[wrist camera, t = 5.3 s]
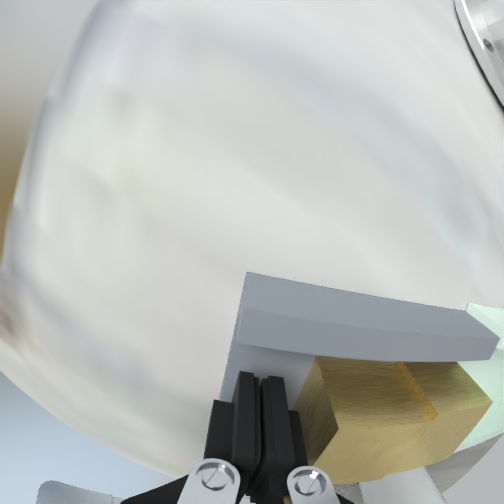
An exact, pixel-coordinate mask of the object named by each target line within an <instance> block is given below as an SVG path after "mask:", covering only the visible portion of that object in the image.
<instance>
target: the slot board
mask: <svg viewBox="0 0 504 504" xmlns="http://www.w3.org/2000/svg"><path fill="white" fill-rule="evenodd" d="M499 340H500V337H499V336H497V335H496V334H495V333H494V332H492V331H491V330H490V329H489V328H487V327H486V326H485V325H483V324H482V323H481V322H479V321H478V320H477V319H475V318H474V317H473V316H471V315H470V314H469V313H467V312H466V311H461V310H455V309H448V308H442V307H436V306H430V305H423V304H417V303H411V302H405V301H400V300H394V299H388V298H382V297H376V296H371V295H365V294H360V293H354V292H349V291H343V290H338V289H332V288H327V287H322V286H316V285H311V284H306V283H301V282H295V281H290V280H285V279H280V278H275V277H270V276H265V275H260V274H255V273H250V272H247V273H246V278H245V283H244V287H243V292H242V296H241V301H240V306H239V310H238V315H237V319H236V324H235V329H234V333H233V338H232V342H231V347H230V352H229V356H228V361H227V365H226V370H225V375H224V379H223V384H222V389H221V393H220V398H219V401H225V402H231V401H232V397H233V393H234V389H235V386H236V382H237V378H238V374H239V371H245V372H251V373H254V377H259V387H260V384H261V381H262V379H263V378H266V379H267V378H268V376H269V375H270V376H278V377H283V378H284V383H285V390H286V397H287V404H288V410H292V409H293V407H294V405H295V402H296V400H297V398H298V396H299V394H300V391H301V389H302V387H303V384H304V382H305V380H306V378H307V375H308V373H309V370H310V368H311V366H312V363H313V361H314V358H315V356H324V357H333V358H343V359H354V360H366V361H381V362H396V361H407V362H458V361H480V360H490V358H491V356H492V354H493V352H494V350H495V348H496V346H497V344H498V342H499Z"/></svg>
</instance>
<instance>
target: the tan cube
mask: <svg viewBox="0 0 504 504" xmlns="http://www.w3.org/2000/svg"><path fill="white" fill-rule="evenodd" d="M395 363H396V364H397V366H398V367H399V369H400V370H401V372H402V373H403V375H404V376H405V377H406V379H407V380H408V382H409V383H410V385H411V386H412V388H413V389H414V391H415V392H416V394H417V395H418V397H419V398H420V400H421V401H422V403H423V404H424V406H425V407H426V409H427V411H428V412H429V414H430V415H431V417H432V418H433V420H434V421H433V423H432V424H431V425H430V427H429V428H428V429H427V430H426V432H425V433H424V434H423V435H422V437H421V438H420V439H419V440H418V441H417V443H416V444H415V445H414V446H413V447H412V448H411V449H410V451H409V452H408V453H407V454H406V455H405V456H404V457H403V458H402V459H401V460H400V461H399V462H398V464H397V465H396V466H395V467H394V468H393V469H392V470H391V471H390V472H389V473H388V474H387V475H390V474H395V473H400V472H405V471H409V470H413V469H417V468H421V467H425V466H428V465H432V464H435V463H438V462H442V461H445V460H446V459H447V458H448V457H449V456H450V455H451V454H452V453H453V452H454V451H455V450H456V449H457V448H458V447H459V445H460V444H461V443H462V442H463V441H464V440H465V438H466V437H467V436H468V435H469V434H470V432H471V431H472V430H473V429H474V428H475V426H476V425H477V424H478V422H479V421H480V420H481V419H482V417H483V416H484V415H485V413H486V412H487V410H488V409H489V408H490V406H491V405H492V403H493V401H492V400H491V399H490V398H489V397H488V396H487V394H486V393H485V392H484V391H483V390H482V389H481V388H480V386H479V385H478V384H477V383H476V382H475V381H474V380H473V379H472V378H471V377H470V375H469V374H468V373H467V372H466V371H465V370H464V369H463V368H462V367H461V366H460V365H459V364H458V363H457V362H407V361H396V362H395Z"/></svg>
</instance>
